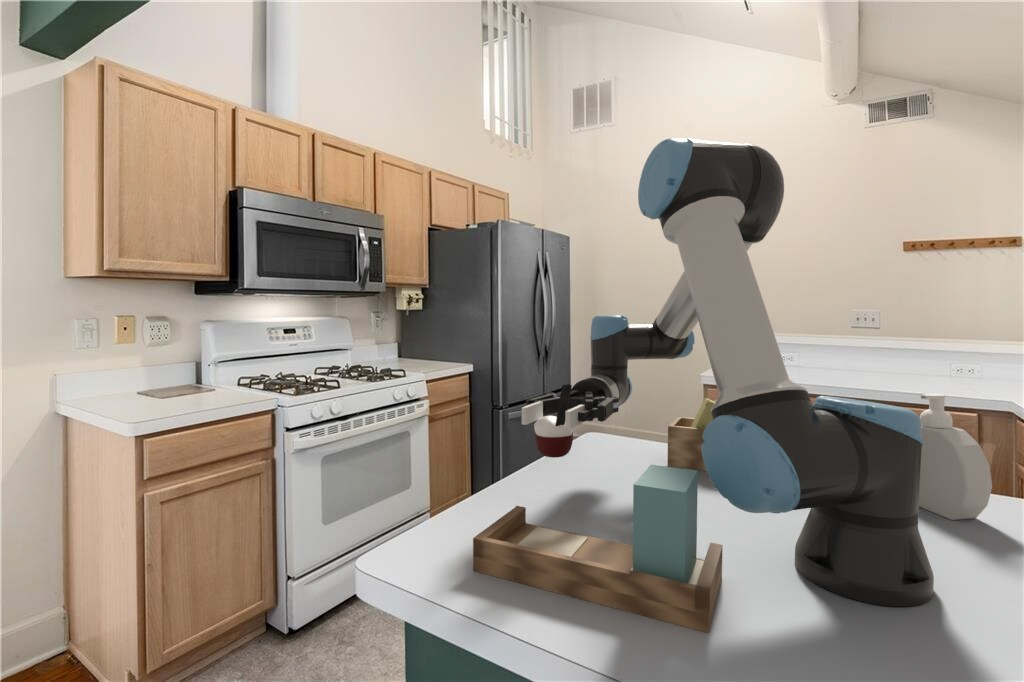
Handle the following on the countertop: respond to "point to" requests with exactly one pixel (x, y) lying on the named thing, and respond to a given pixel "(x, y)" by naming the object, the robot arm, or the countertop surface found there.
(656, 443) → the countertop surface
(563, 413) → the cocoa
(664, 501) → the teal carton
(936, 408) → the soap bottle
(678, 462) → the part holder
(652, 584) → the tray
